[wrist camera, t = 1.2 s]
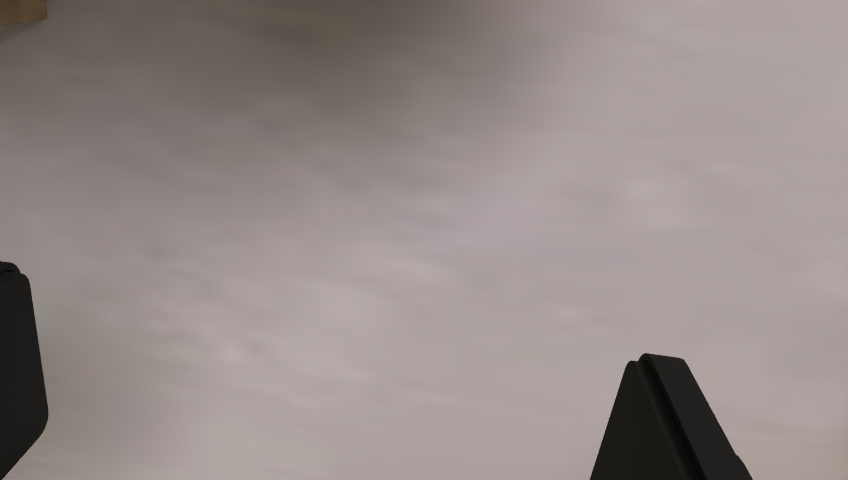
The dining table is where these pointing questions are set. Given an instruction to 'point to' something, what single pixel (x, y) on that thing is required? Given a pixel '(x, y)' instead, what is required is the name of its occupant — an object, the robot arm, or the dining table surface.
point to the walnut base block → (22, 11)
